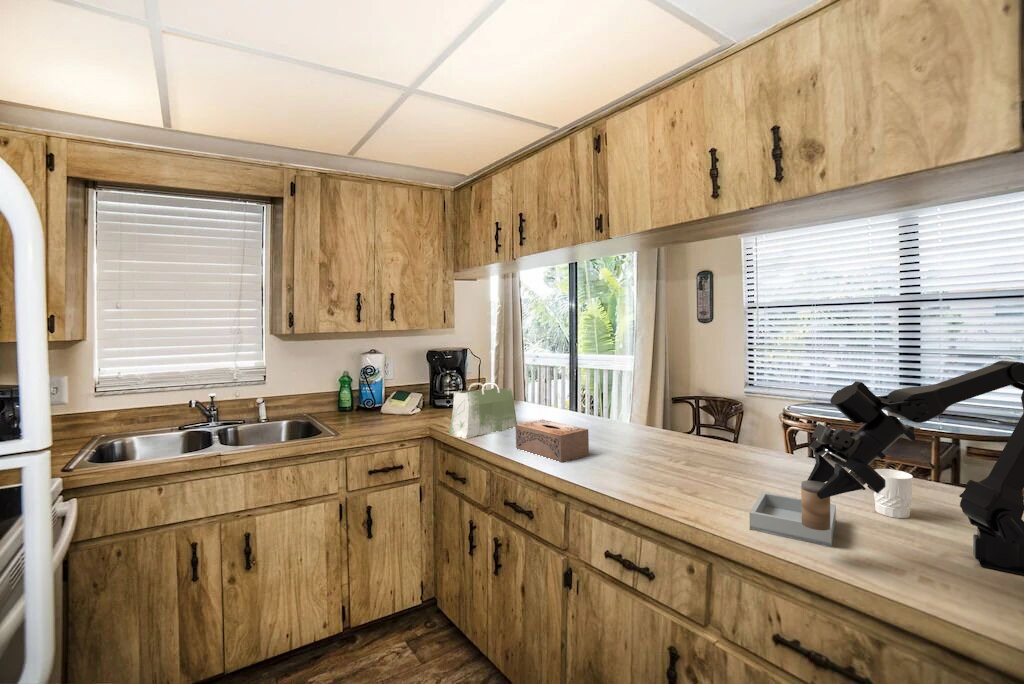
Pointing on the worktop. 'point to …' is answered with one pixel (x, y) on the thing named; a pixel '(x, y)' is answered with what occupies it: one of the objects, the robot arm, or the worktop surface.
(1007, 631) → the worktop surface
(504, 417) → the grocery bag
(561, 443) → the tissue box cover
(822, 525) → the spice jar
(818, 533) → the bin
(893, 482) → the white cup
